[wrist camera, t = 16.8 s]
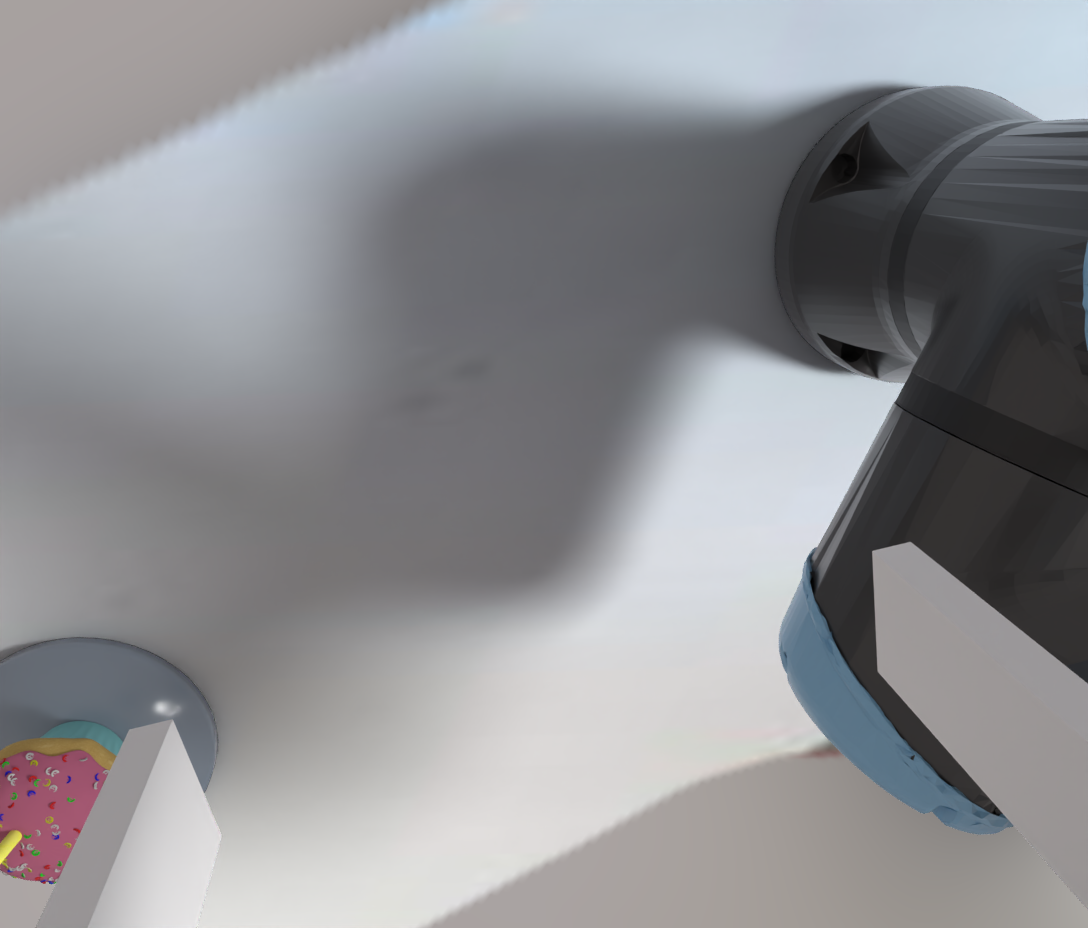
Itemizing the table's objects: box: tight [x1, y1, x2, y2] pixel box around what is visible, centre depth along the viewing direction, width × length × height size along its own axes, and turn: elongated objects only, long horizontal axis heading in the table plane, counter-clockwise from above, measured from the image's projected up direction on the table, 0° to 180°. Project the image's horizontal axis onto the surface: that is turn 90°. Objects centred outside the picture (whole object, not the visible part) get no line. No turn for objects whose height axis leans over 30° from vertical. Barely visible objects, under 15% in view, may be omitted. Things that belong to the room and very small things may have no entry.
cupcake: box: [0, 721, 123, 884], centre depth 44 cm, size 9×8×12 cm
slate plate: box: [0, 638, 218, 793], centre depth 50 cm, size 14×14×1 cm
